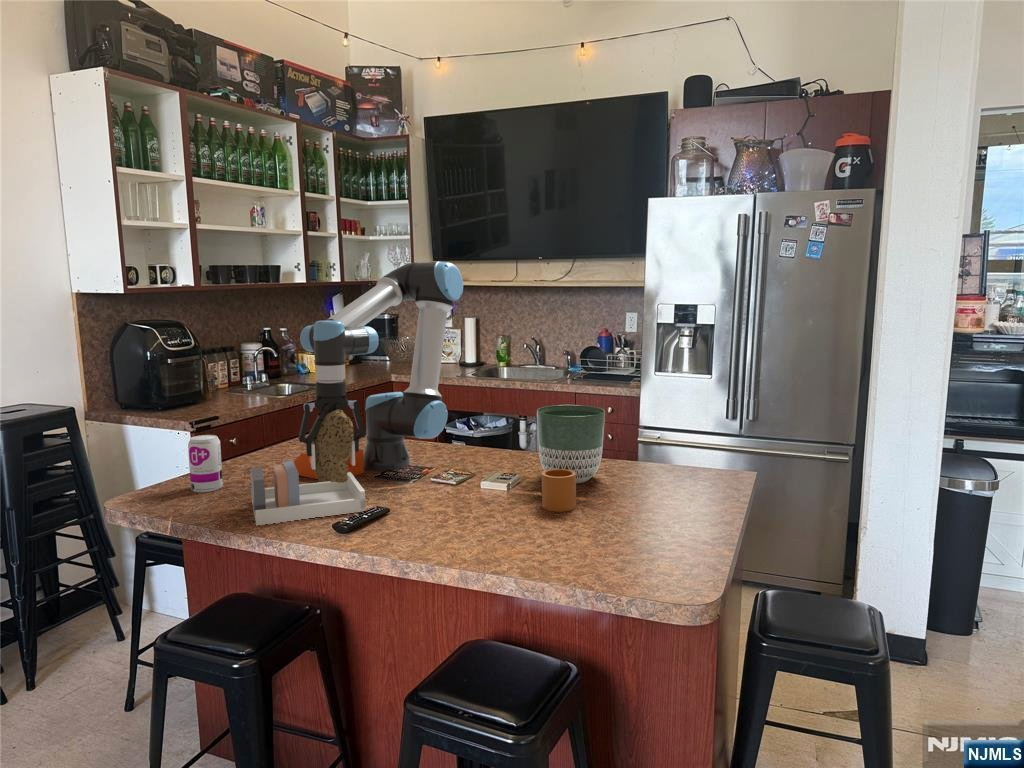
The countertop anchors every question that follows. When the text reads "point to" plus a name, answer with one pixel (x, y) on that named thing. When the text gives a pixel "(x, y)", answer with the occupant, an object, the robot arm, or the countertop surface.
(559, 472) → the mug
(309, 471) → the tape dispenser
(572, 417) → the planter
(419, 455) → the countertop surface
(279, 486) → the book row
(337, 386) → the robot arm
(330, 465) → the sponge
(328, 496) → the white tray
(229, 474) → the countertop surface
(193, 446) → the supplement can
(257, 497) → the dark gray book
